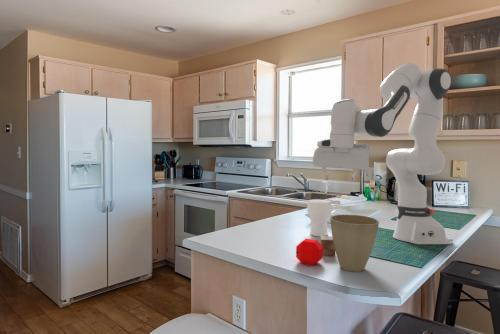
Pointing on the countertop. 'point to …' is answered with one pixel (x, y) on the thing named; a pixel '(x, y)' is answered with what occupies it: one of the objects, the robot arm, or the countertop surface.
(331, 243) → the walnut block
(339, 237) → the plant pot
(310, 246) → the ball
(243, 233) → the countertop surface
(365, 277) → the countertop surface
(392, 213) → the countertop surface
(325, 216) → the cup
